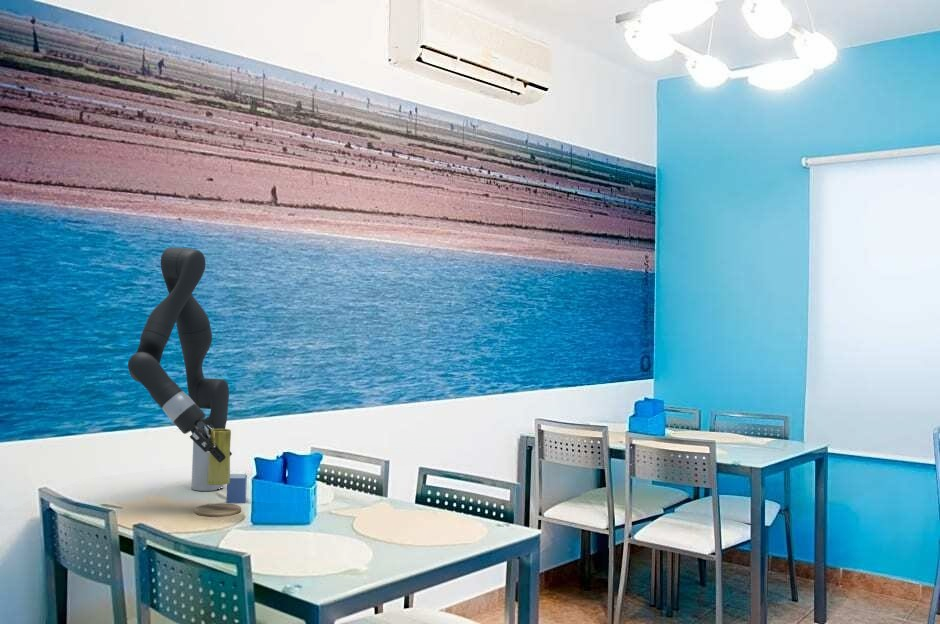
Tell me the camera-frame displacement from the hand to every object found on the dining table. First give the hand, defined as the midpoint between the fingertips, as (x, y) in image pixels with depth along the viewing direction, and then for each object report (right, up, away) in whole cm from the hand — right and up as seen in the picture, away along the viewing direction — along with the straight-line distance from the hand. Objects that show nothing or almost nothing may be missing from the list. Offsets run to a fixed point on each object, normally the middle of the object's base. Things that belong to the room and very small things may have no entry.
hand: (226, 458), depth 230 cm
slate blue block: (-1, -14, +13) cm, 19 cm away
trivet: (-2, -14, 0) cm, 14 cm away
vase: (-2, -7, 0) cm, 7 cm away
